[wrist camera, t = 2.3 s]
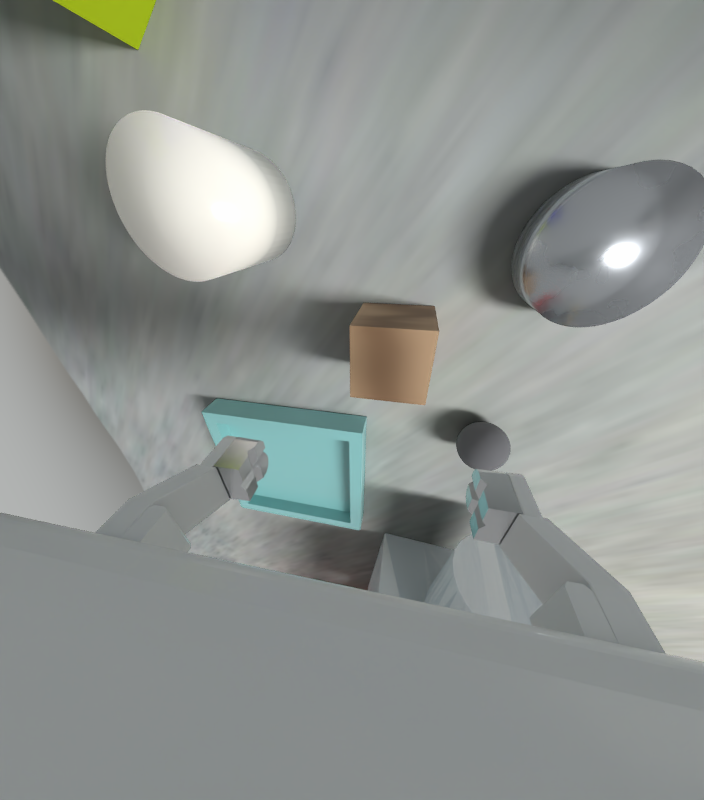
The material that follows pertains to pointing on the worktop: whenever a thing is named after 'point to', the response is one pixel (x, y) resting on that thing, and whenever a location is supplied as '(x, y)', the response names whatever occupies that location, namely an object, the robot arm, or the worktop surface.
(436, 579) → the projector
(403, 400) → the walnut block
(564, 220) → the grey metal dome
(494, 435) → the rubber ball
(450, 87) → the worktop surface
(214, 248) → the ceramic jar
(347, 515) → the tray
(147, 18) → the puzzle toy
